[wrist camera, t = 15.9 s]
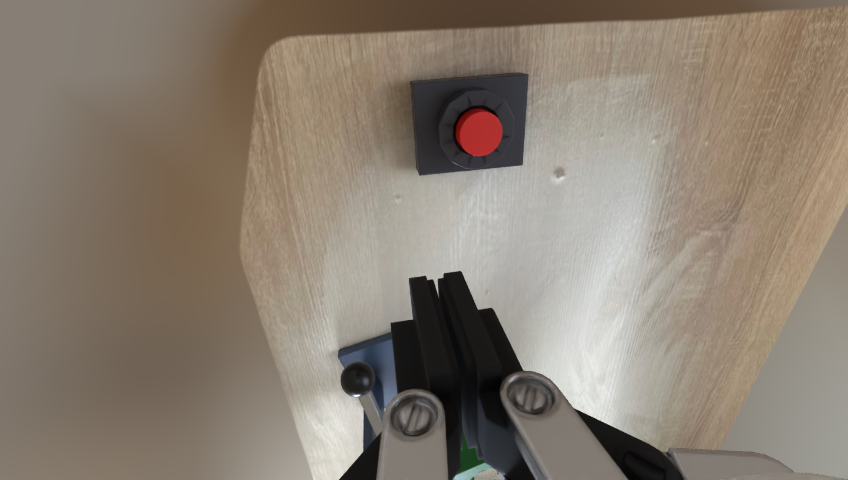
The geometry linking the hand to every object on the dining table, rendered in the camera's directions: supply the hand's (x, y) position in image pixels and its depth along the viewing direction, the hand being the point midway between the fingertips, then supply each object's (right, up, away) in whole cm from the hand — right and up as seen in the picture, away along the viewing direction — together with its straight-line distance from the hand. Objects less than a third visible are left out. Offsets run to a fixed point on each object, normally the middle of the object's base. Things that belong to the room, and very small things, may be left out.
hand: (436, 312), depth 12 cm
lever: (-5, -15, +26) cm, 30 cm away
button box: (+4, +13, +23) cm, 27 cm away
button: (+4, +12, +20) cm, 24 cm away
